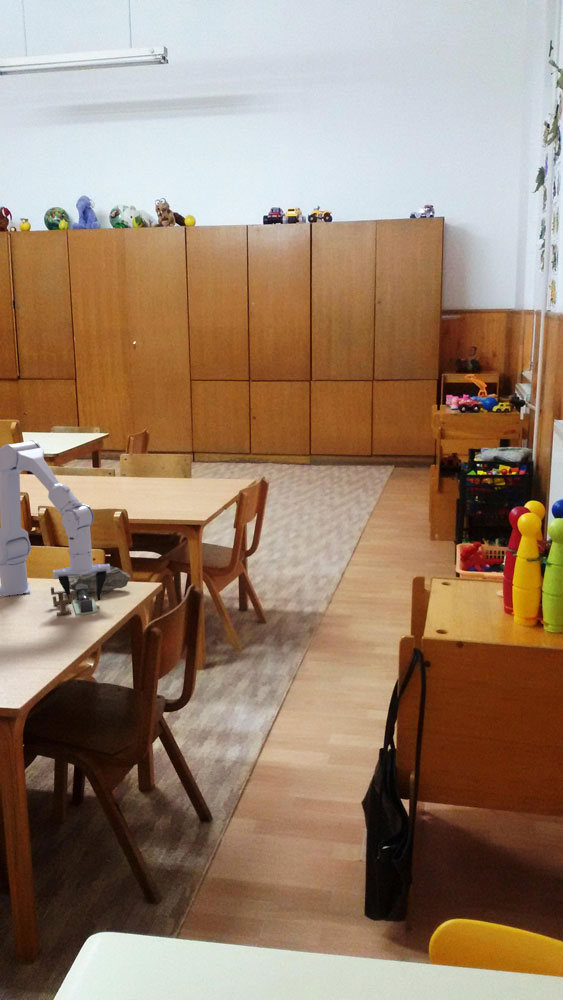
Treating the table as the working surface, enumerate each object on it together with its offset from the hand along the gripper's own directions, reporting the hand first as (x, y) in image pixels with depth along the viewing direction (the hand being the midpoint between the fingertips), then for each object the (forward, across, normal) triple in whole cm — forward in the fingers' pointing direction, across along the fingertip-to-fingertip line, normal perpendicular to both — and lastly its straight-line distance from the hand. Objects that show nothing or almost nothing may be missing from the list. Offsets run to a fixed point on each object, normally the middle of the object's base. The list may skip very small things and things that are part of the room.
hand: (84, 601), depth 214 cm
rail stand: (+2, -6, 0) cm, 6 cm away
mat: (+2, 0, 0) cm, 2 cm away
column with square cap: (+1, 0, 0) cm, 1 cm away
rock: (+2, +5, +13) cm, 14 cm away
